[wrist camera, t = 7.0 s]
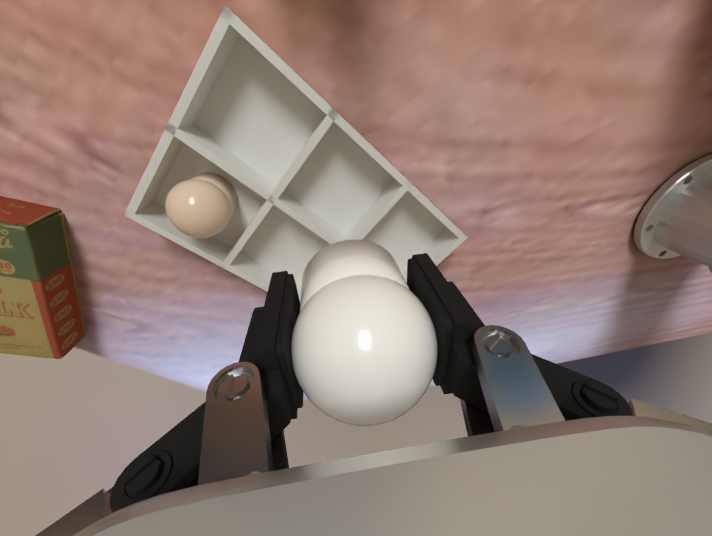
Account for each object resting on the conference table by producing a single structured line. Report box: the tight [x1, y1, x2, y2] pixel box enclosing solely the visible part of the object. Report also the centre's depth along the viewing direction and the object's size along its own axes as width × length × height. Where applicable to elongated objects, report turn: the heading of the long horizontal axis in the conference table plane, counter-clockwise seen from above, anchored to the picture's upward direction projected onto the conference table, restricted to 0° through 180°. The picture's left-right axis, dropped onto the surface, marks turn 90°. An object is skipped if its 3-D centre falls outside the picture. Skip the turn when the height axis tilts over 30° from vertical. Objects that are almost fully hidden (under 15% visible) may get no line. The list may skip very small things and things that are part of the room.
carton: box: [0, 196, 86, 359], centre depth 26 cm, size 8×16×4 cm, turn 161°
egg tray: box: [124, 6, 468, 303], centre depth 26 cm, size 25×17×4 cm
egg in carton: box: [165, 172, 238, 238], centre depth 22 cm, size 5×5×6 cm
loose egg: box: [291, 239, 438, 426], centre depth 9 cm, size 5×5×6 cm
